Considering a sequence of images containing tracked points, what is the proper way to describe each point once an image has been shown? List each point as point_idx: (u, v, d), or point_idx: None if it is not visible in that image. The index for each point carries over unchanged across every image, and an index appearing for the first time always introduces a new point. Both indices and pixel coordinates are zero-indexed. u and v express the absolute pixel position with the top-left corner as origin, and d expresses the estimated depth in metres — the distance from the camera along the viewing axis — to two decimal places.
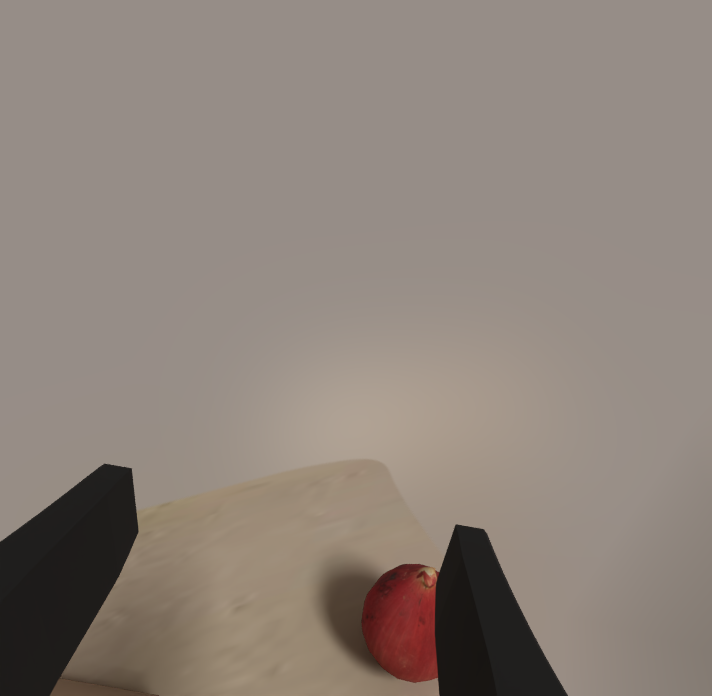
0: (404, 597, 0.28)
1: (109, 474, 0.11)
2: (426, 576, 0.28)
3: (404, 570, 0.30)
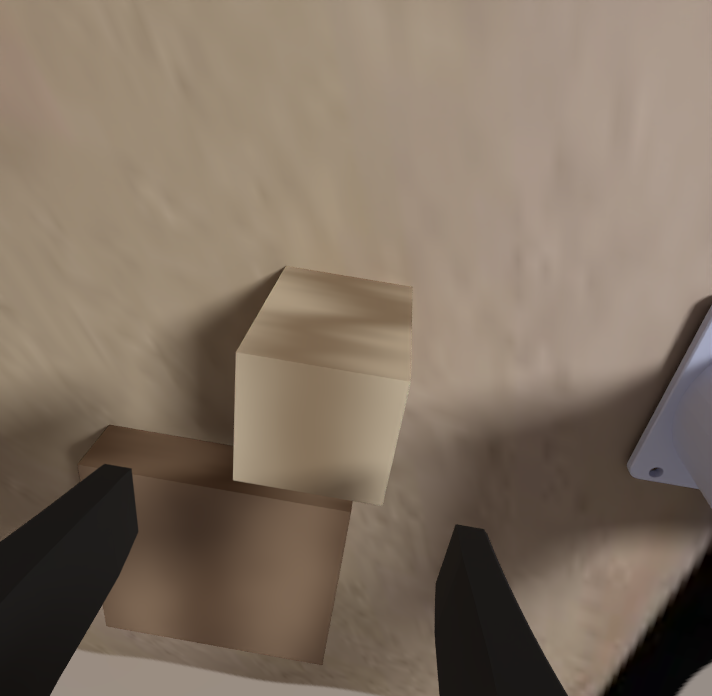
0: None
1: (109, 475, 0.11)
2: None
3: None
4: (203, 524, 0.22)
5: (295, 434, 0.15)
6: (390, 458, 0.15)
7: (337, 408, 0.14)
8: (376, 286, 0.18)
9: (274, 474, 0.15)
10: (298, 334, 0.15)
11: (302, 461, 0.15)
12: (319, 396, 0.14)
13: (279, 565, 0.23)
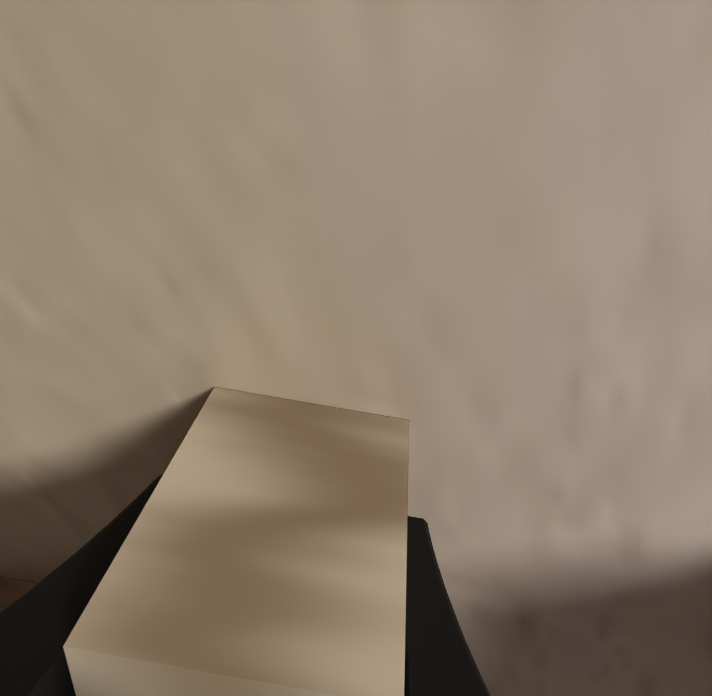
0: None
1: None
2: None
3: None
4: None
5: None
6: None
7: None
8: (352, 425, 0.12)
9: None
10: (201, 571, 0.08)
11: None
12: None
13: None
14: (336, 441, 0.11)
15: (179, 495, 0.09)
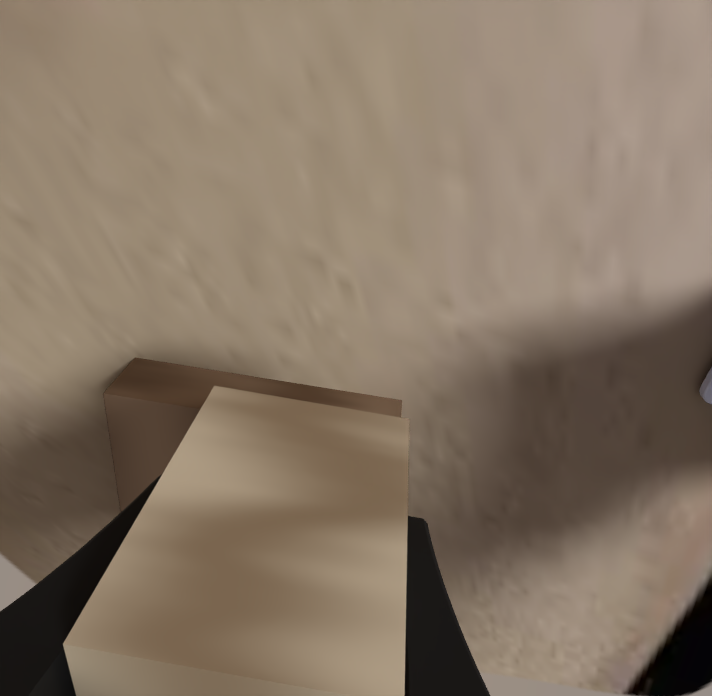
0: None
1: None
2: None
3: None
4: None
5: None
6: None
7: None
8: (352, 424, 0.12)
9: None
10: (201, 569, 0.08)
11: None
12: None
13: None
14: (336, 440, 0.11)
15: (179, 493, 0.09)
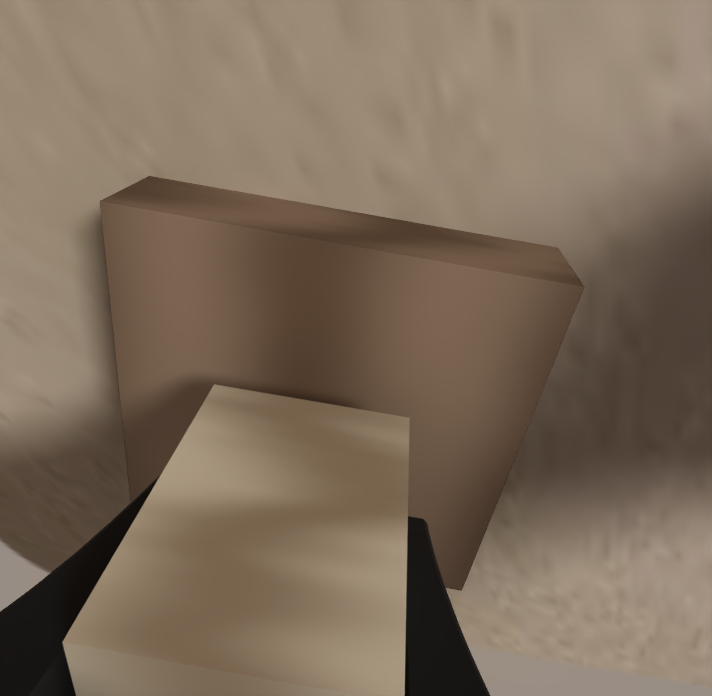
0: None
1: None
2: None
3: None
4: (311, 325, 0.13)
5: None
6: None
7: None
8: (352, 422, 0.12)
9: None
10: (201, 567, 0.08)
11: None
12: None
13: (429, 408, 0.14)
14: (336, 438, 0.11)
15: (179, 492, 0.09)
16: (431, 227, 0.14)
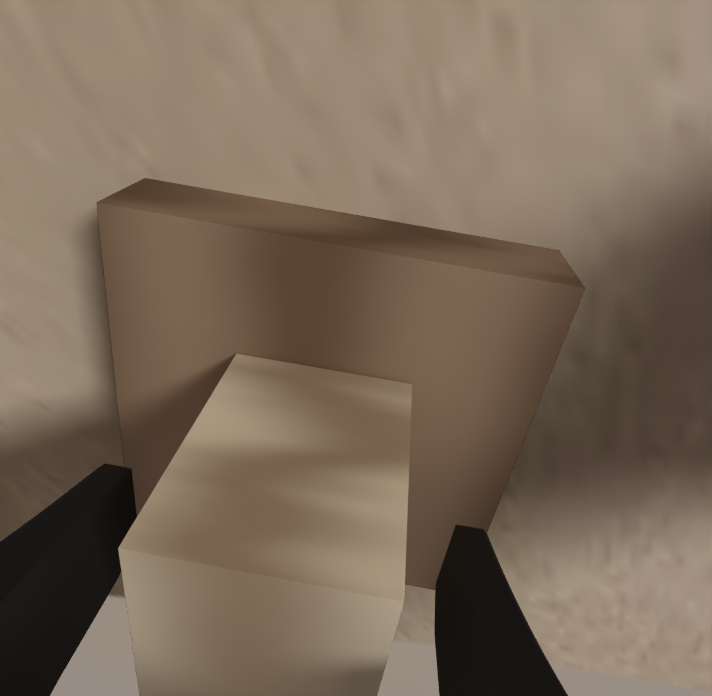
0: None
1: (109, 474, 0.11)
2: None
3: None
4: (310, 327, 0.13)
5: (225, 653, 0.09)
6: (374, 690, 0.09)
7: (288, 627, 0.09)
8: (360, 387, 0.13)
9: None
10: (230, 496, 0.09)
11: (239, 684, 0.10)
12: (257, 611, 0.09)
13: (428, 410, 0.14)
14: (346, 399, 0.12)
15: (209, 438, 0.11)
16: (430, 228, 0.14)
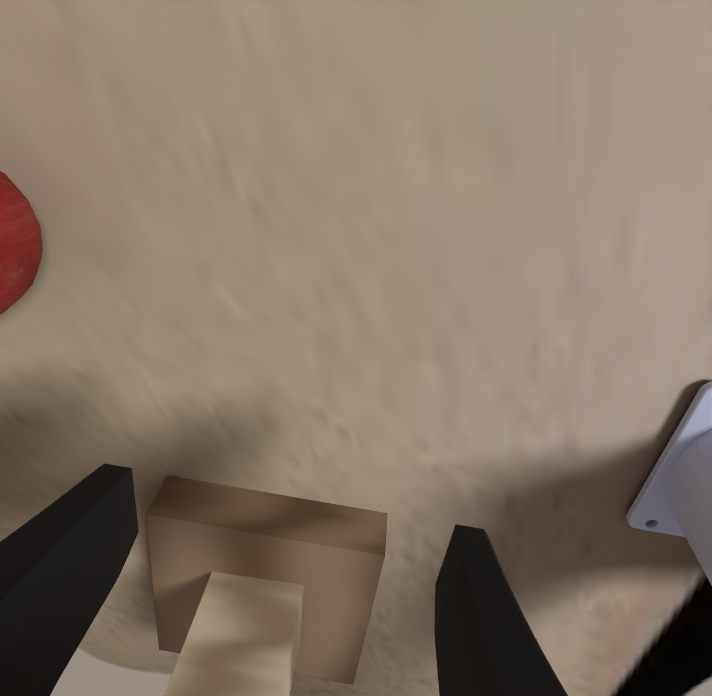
0: None
1: (109, 475, 0.11)
2: None
3: None
4: (253, 563, 0.25)
5: None
6: None
7: None
8: (275, 590, 0.25)
9: None
10: (206, 672, 0.22)
11: None
12: None
13: (318, 599, 0.26)
14: (266, 601, 0.25)
15: (197, 637, 0.23)
16: (319, 502, 0.26)
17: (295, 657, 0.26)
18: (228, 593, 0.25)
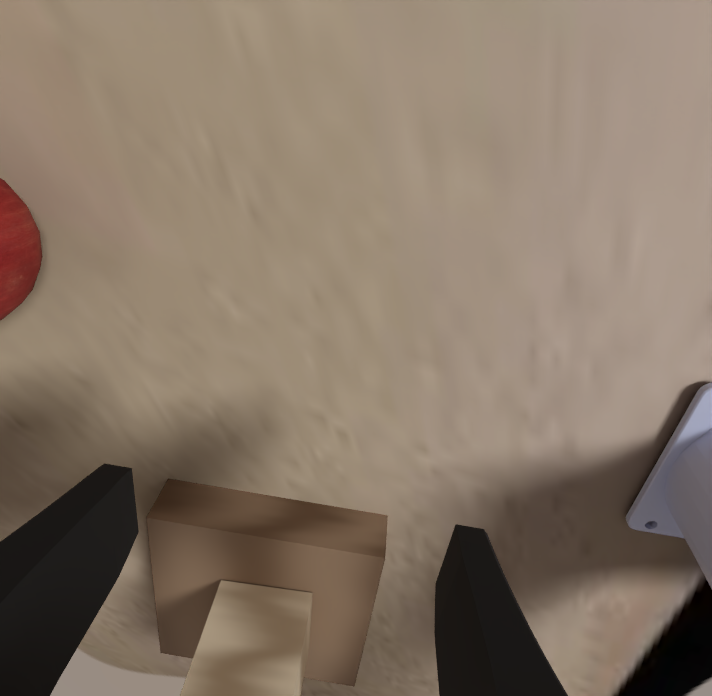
0: None
1: (109, 475, 0.11)
2: None
3: None
4: (254, 567, 0.25)
5: None
6: None
7: None
8: (284, 599, 0.25)
9: None
10: (217, 683, 0.22)
11: None
12: None
13: (319, 602, 0.26)
14: (276, 610, 0.25)
15: (207, 647, 0.23)
16: (319, 505, 0.26)
17: (304, 664, 0.26)
18: (237, 602, 0.25)
